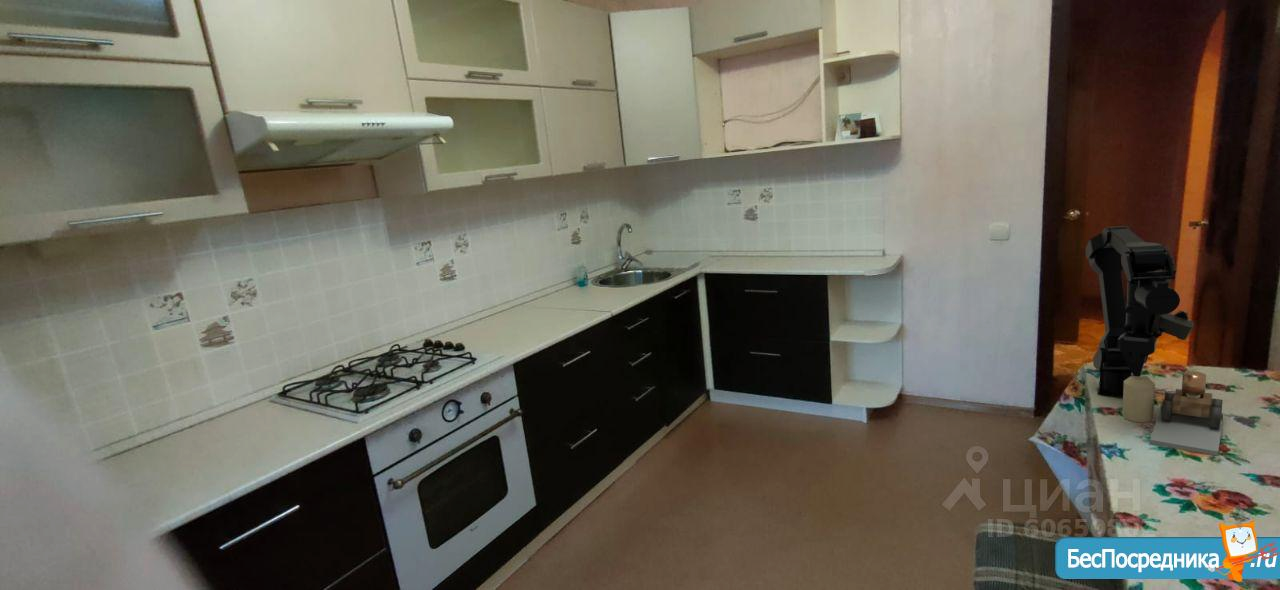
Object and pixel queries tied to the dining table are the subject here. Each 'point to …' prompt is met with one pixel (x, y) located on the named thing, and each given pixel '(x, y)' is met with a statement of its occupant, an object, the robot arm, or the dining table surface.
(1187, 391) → the stop pin
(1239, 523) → the dining table surface
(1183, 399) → the trolley
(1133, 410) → the candle
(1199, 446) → the ramp board
